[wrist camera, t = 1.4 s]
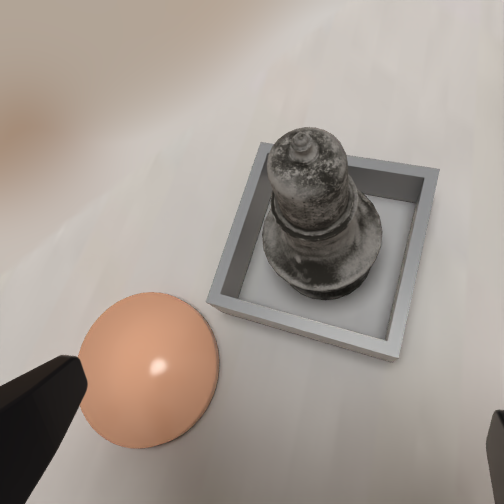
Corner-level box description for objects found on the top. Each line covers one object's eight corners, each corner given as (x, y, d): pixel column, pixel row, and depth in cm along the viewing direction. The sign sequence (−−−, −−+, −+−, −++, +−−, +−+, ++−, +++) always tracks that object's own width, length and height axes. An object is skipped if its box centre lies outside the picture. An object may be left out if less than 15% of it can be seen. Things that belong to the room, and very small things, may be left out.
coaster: (189, 470, 22) (182, 473, 21) (64, 415, 24) (52, 416, 23) (238, 316, 24) (233, 314, 23) (118, 281, 26) (109, 277, 25)
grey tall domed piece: (342, 190, 25) (334, 27, 13) (399, 272, 22) (445, 155, 11) (257, 239, 25) (181, 117, 14) (305, 324, 23) (259, 260, 12)
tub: (392, 362, 21) (398, 358, 18) (222, 312, 24) (205, 302, 21) (429, 195, 23) (439, 169, 20) (270, 168, 26) (260, 142, 23)
